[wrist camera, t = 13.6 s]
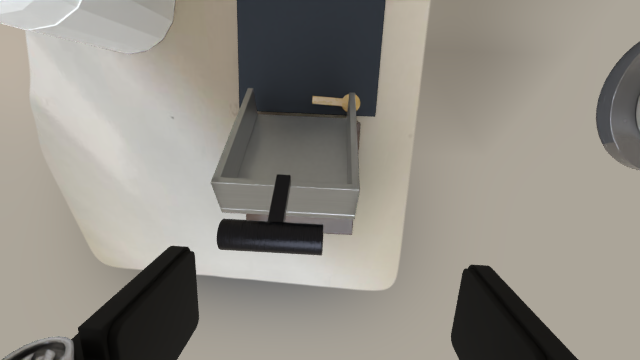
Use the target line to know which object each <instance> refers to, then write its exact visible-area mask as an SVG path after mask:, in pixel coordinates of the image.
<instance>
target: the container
mask: <svg viewBox="0 0 640 360" xmlns="http://www.w3.org/2000/svg"><path fill="white" fill-rule="evenodd" d="M174 7H175V0H0V23H1V24H5V25H9V26H12V27H16V28H20V29H24V30H28V31H32V32H36V33H41V34H45V35H49V36H53V37H57V38H62V39H66V40H70V41H74V42H79V43H83V44H87V45H91V46H96V47H100V48H104V49H108V50H112V51H117V52H121V53H125V54H133V53H138V52H144V51H148V50H149V49H151V48H152V47H153V46H155V45H156V44H158V43H159V42H160V41H162V40H163V39H164V37H165V35H166V33H167V31H168V29H169V28H170V26H171V24H172V22H173V16H174Z"/></svg>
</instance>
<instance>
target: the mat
mask: <svg viewBox="0 0 640 360" xmlns="http://www.w3.org/2000/svg"><path fill="white" fill-rule="evenodd" d="M384 11H385V0H237V21H238V64H239V108H240V107H241V104H242V102H243V99H244V97H245V94H246V92H247V89H248V88H253V89H254V95H255V101H256V107H257V111H266V112H288V113H309V114H331V115H347V112H346V111H345V110H344V109H343V108H342V106H332V105H321V104H312V98H313V96H321V97H332V98H343V97H344V96H345V95H347V94H349V93H355V95H357V96H358V98H359V99H360V107H359V108H358V110H357V111H356V116H374V117H375V113H376V101H377V90H378V79H379V68H380V56H381V45H382V34H383V22H384Z"/></svg>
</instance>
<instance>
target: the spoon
mask: <svg viewBox="0 0 640 360" xmlns="http://www.w3.org/2000/svg"><path fill="white" fill-rule="evenodd" d="M348 100H349V94H347V95H345V96H344V97H343V98H332V97H321V96H313V98H312V104H321V105H332V106H342V108H343V109H344V110H345V111H346V112H347V110H348ZM355 101H356V111H357V110H358V108H359V107H360V99H359V98H358V96H357V95H355Z"/></svg>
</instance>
